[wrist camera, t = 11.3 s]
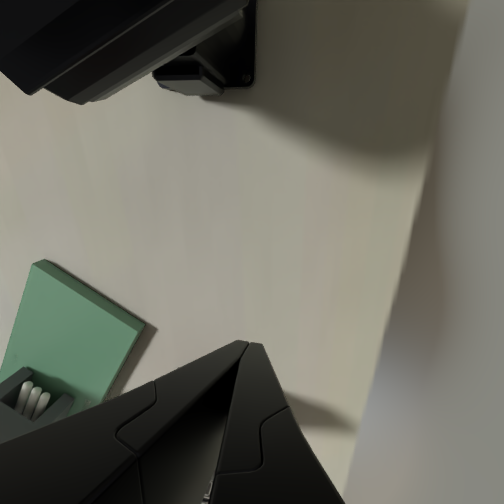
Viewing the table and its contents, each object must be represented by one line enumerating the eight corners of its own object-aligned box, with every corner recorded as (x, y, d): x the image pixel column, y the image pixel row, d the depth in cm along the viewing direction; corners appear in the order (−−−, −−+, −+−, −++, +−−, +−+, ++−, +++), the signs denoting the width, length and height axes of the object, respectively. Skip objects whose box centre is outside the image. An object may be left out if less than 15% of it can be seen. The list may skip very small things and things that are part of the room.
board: (44, 259, 26) (32, 263, 25) (145, 324, 26) (138, 332, 25) (4, 384, 33) (-7, 392, 32) (84, 435, 33) (76, 445, 32)
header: (26, 360, 29) (-7, 383, 26) (78, 394, 29) (52, 421, 26) (9, 406, 32) (-21, 432, 29) (58, 436, 32) (32, 465, 29)
